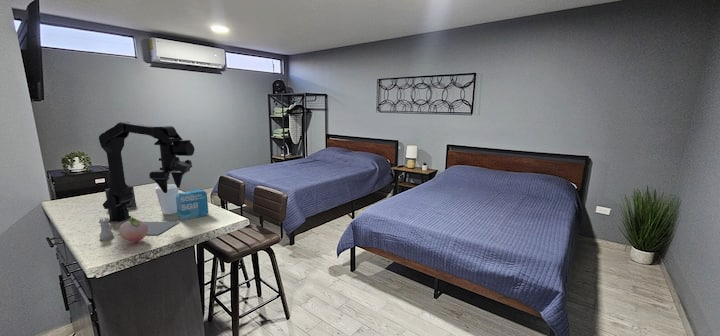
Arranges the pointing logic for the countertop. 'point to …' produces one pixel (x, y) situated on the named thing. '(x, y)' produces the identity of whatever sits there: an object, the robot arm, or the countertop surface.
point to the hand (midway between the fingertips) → (172, 190)
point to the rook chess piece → (105, 230)
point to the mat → (159, 227)
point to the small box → (132, 201)
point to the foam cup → (168, 199)
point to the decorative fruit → (133, 230)
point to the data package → (192, 204)
